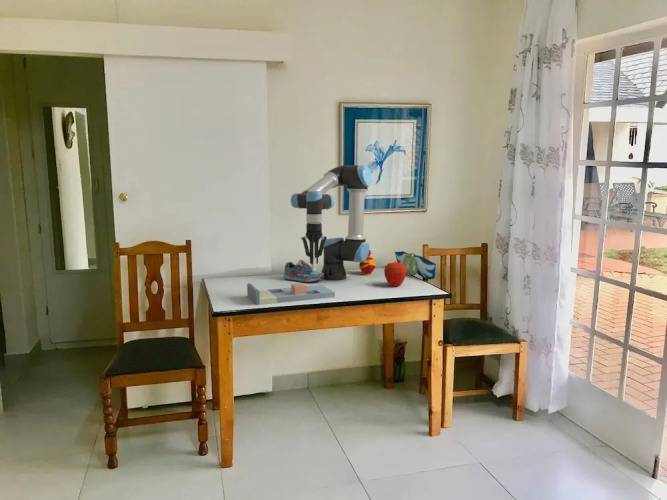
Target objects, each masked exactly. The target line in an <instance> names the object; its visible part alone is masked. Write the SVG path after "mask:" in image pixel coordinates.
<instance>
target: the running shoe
mask: <svg viewBox="0 0 667 500" xmlns="http://www.w3.org/2000/svg"><path fill="white" fill-rule="evenodd" d="M283 273H284V274H283V278H284V280H286V281H291V282H293V281H295V282H297V283H298V282H301V283H306V284H308V283H309V284H311V283H316V282H319V281H321V280H324V279H323V278H324V273H321V271H320V272H318V271H317V270H316V271H313V270H312V266H310V265H309V263H307V262H306V261H304V260H303V259H300V260H299V261H298V262H297V263H296V264H294V262H292V261H289V262H286V263H285V266H284V272H283Z"/></svg>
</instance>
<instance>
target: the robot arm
mask: <svg viewBox="0 0 667 500" xmlns="http://www.w3.org/2000/svg"><path fill="white" fill-rule="evenodd" d="M372 183H373V175H372V172H371V169H370V168H369V166H367V165H363V164H362V165H361V164H359V165H357V164H353V165H346V164H345V165H344V164H343V165H338V166H336V167H334V168H331V169H330V170H327V172H325V173H324V174H323V177H322V178H320V179H319V180H318V181H316V182H315V183H313V184H312V185H311V186H309V187H308V188H307V189H305V190H303V191H302V192H300V193H293V194H292V195H291V197H290V205H291V207H292V208H295V209H306V216H305V217H306V220H305V221H306V225H305V226H306V228H305V229H306V233H305V235H304V236H301V237H300V239H301V241H302V243H303V248H304V253H305V256H306V257H309V263H310V265H311V267H312V270H313V271H316V272H317V264H319V257H321V256H323V264H322V268H321V271H320V273H324V278H323V279H322V280H330V281H335V280H336V281H337V280H345V279H347V271H346V268H345V265H344V262H353V263H360V262H363V261H365V260H366V258H367V256H368V254H369V250H370V244H369V242H367V241H366V239H367V238H366V237H365V236H364V220H365V219H364V218H365V199H366V197H365V195H366V192H367V191H368V188H369V187H371V185H372ZM337 187H346V191H348V194H349V195H348V196H349V198H348V224H347V226H348V227H347V235H346V236H345V238H344V237H341V236H339V237H331V238H327V236H325V235H323V230H322V229H323V226H322V225H323V224H322V221H323V210H330V209H332V208H333V207H334V206H335V202H336V201H335V197H334V196H333V195H332V194H329V193H327V192H329V191H330V190H332V189H336V188H337ZM308 243H309V244H308ZM319 243H320V244H319Z"/></svg>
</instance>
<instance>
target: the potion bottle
mask: <svg viewBox="0 0 667 500" xmlns="http://www.w3.org/2000/svg"><path fill="white" fill-rule="evenodd" d="M371 251H372V250H370V249H369V254H368V256H367V258H366V260H365V261H363V262H359V265H358V267H359V268H358V269H360V271H361V272H362V273H363V275H364V276H370V275H371V274H372V272H373V271H375V269H376V266H377V263H376V262H377V260H375V258H372V257H371V254H372V252H371Z"/></svg>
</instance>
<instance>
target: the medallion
mask: <svg viewBox="0 0 667 500" xmlns="http://www.w3.org/2000/svg"><path fill="white" fill-rule="evenodd" d="M394 254H395V259H396V262H397V263H402V264H403V265H404V266H405V267H406V270H407V271H406V275H408V276H410V277H412V276H415V275H418V276H420V277H421V278H423V279H426V280H429V281H430V280H433V279H435V278H436V270H437V269H436V266H437V264H436V263H435V262H433V261H431V260H429V259H428V258H426V257H423V256H421V255H417V254H415V253H413V252H411V253H410V252H409V253H407V252H406V251H403V250H402V251H394Z"/></svg>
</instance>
